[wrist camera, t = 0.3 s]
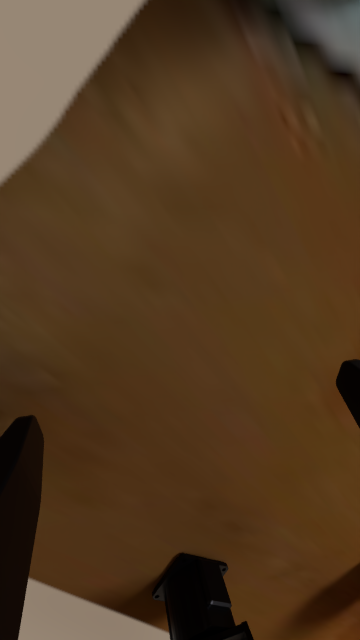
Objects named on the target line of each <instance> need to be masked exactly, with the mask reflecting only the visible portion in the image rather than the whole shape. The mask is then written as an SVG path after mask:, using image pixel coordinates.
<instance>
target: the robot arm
mask: <svg viewBox="0 0 360 640" xmlns="http://www.w3.org/2000/svg"><path fill="white" fill-rule="evenodd" d="M336 386H337V388H338V390H339V392H340V394H341V396H342V397H343V399H344V401H345V403H346V405H347V406H348V408H349V410H350V412H351V414H352V416H353V417H354V419H355V421H356V423H357V425H358V426H359V428H360V360H358V359H353V360H347V361H344V362H343V363H342V365H341V367H340V370H339V373H338V376H337V379H336ZM43 451H44V438H43V434H42V431H41V429H40V426H39V424H38V421H37V419H36V417H35V416H34V415H28V416H22V417H18V418H17V419H15V420H14V421H13V423H12V424H11V425H10V426H9V427H8V429H7V430H6V431H5V432H4V434H3V435H2V436H1V437H0V640H18V636H19V630H20V624H21V618H22V612H23V606H24V600H25V594H26V588H27V582H28V576H29V570H30V564H31V558H32V552H33V546H34V540H35V534H36V528H37V522H38V516H39V510H40V502H41V488H42V469H43ZM227 570H228V566H227V564H226V563H224V562H219V561H215V560H210V559H206V558H202V557H197V556H193V555H189V554H181V555H180V556H179V557H178V558H177V560H176V561H175V562H174V564H173V565H172V566H171V568H170V569H169V570H168V572H167V573H166V575H165V576H164V577H163V579H162V580H161V581H160V583H159V584H158V585H157V587H156V588H155V589H154V591H153V592H152V596H153V599H154V600H159V601H165V606H166V613H167V620H168V626H169V633H170V640H254V639H253V637H252V634H251V631H250V629H249V626H248V624H247V621H244V622H242V623H241V624H240V625H237V626H236V625H235V622H234V619H233V616H232V612H231V609H230V608H231V601H230V598H229V595H228V592H227V589H226V586H225V582H224V579H223V576H224V574H225V573H226V572H227Z"/></svg>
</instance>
